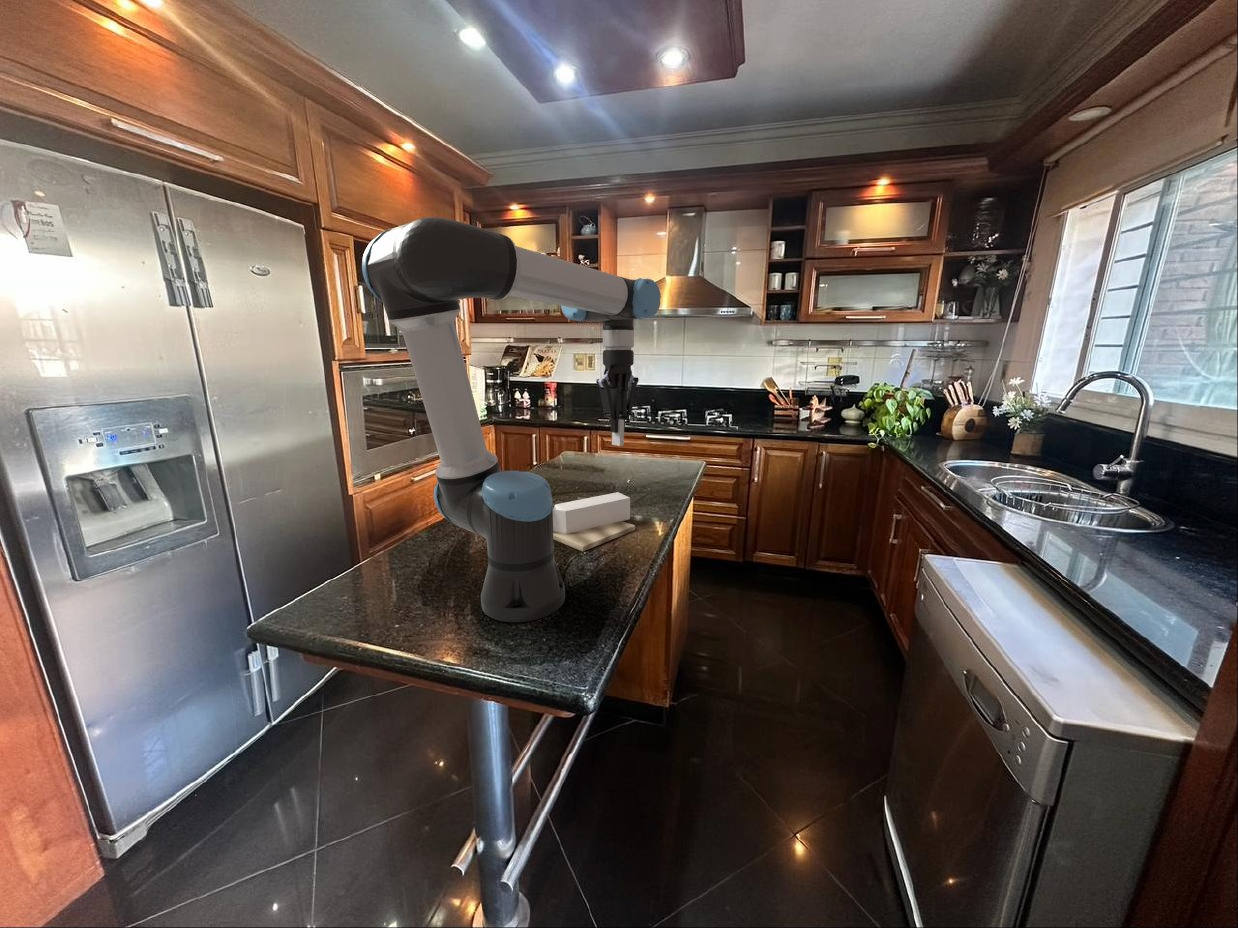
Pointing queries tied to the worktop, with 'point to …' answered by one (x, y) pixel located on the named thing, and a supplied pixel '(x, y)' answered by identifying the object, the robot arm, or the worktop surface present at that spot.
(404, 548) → the worktop surface
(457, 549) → the worktop surface
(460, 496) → the robot arm
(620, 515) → the white carton-shaped block
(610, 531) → the board
